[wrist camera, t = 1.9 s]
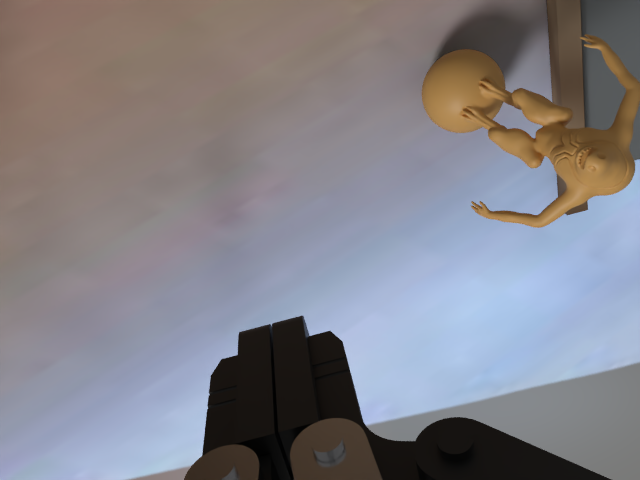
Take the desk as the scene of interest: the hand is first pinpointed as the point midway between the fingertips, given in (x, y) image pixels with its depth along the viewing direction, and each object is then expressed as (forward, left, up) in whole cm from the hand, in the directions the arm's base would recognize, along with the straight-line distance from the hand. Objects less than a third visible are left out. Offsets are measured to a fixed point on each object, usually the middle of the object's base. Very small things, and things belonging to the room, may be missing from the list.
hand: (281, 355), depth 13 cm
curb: (0, +16, -19) cm, 25 cm away
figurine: (0, +11, -19) cm, 22 cm away
